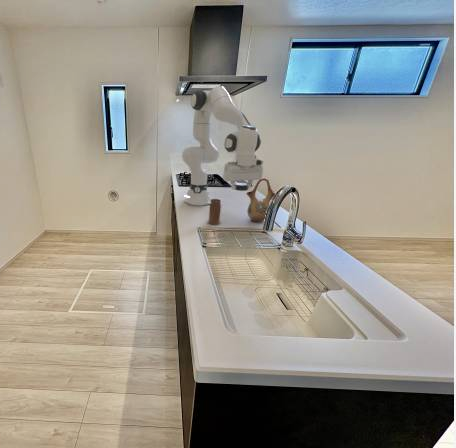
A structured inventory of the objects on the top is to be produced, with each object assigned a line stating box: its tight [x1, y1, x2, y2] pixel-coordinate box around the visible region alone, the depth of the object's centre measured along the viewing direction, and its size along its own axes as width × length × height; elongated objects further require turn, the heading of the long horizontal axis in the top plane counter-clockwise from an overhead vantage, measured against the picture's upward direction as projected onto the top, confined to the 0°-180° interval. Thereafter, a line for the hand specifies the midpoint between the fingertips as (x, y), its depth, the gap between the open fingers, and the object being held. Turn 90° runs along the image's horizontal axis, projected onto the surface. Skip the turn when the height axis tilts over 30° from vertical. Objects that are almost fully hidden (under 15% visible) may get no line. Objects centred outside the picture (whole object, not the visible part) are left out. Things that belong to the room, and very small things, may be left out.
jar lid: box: [234, 182, 249, 192], centre depth 122 cm, size 7×6×3 cm
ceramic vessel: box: [246, 177, 276, 223], centre depth 135 cm, size 16×9×25 cm, turn 87°
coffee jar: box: [207, 198, 222, 226], centre depth 135 cm, size 6×6×13 cm
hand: (240, 188), depth 122 cm, fingers closed on jar lid, 6 cm apart
